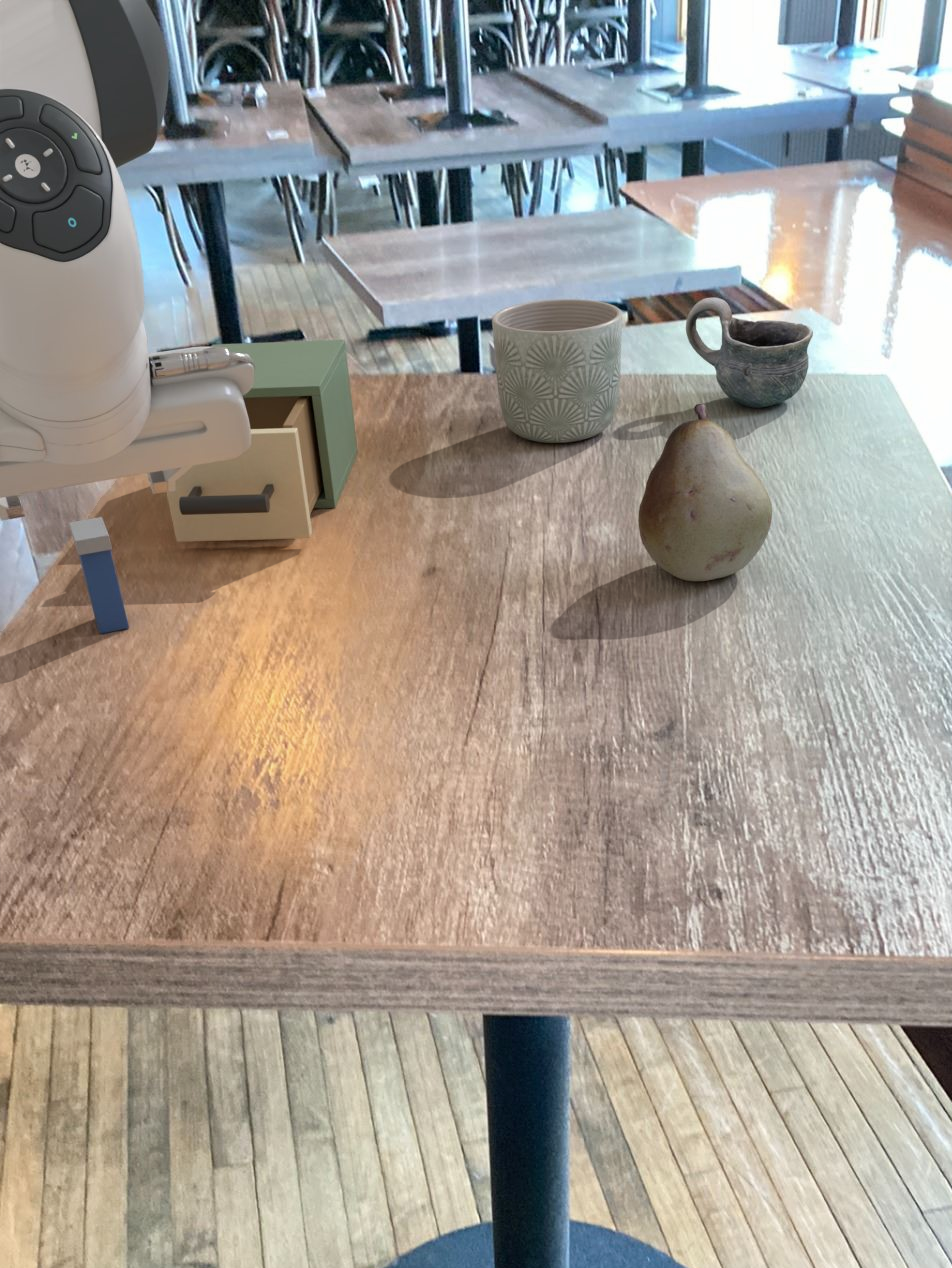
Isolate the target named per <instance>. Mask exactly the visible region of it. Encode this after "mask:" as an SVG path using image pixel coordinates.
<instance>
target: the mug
mask: <svg viewBox="0 0 952 1268" xmlns="http://www.w3.org/2000/svg"><path fill="white" fill-rule="evenodd" d="M707 311H708V312H709V311H710V312H713V313H715V314H717V315H718V317H719V322H720V325H721V345H720V348H719V349H712V348H710V347H709V346H708V345H707V344H706V343H705V342H704V341H703V339H702V338H701V336H700V334H699V332H698V330H697V320H698V318H699V317H700V315H701V314H702V313H704V312H707ZM685 333H686V337H687V340H688V342H689V344H690V346H691V347H692V349H693V350H694V351H695V353H697V355H698V356H700V357H701V359H703V360H704V361H706V362H707V364H709V365H711V366H712V367H714V370H715V379H716V383H717V384H718V385H719V387H720V389H721V391H722V392H723V394H725V396H726V397H728V399H731V400H733V401H734V402H736V403H738V404H739V405H742V406H744V407H745V406H746V407H749V408H766V407H770V406H774V405H779V404H781V403H784V402H786V401H787V400H790V399H792V397H794V396H795V395H796V394H797V393H798V392H799V391H800V389H801V388H802V386H803V384H804V382H805V381H806V377H807V374H808V370H809V362H810V361H809V354H808V348H809V345H810V343H811V340H812V338H813V336H814V331H813V329H812V328H811V327H810V326H809V325H806V324H804V323H795V322H791V321H787V320H773V319H772V320H769V319H768V320H766V319H765V320H756V321H753V320H748V319H743V318H737V317H733V313H732V309H731V306H730V305H729V303H728V302H727V301H726V300H724V299H722V298H719V297H705V298H703V299H701V300H699V301H698V302H696V304H694V306H693V307H691V309H690V311H689V312H688V315H687V317H686V322H685Z"/></svg>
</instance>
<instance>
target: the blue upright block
mask: <svg viewBox="0 0 952 1268" xmlns="http://www.w3.org/2000/svg"><path fill="white" fill-rule="evenodd" d="M68 525H69V528H70V529H69V530H70V532H71V537H72V539H73V543H74V545H75V548H76V552H77V555H78V558H79V561H80V565H81V566H80V567H81V570H82V574H83V576H84V581H85V585H86V590H87V592H88V597H89V601H90V604H91V609H92V613H93V616H94V620H95V623H96V627H97V629H98V632H99V634H100V635H102V634H107V633H108V634H109V633H113V632H117V631H123V630H126V629H127V630H128V629H129V628H130V625H129V621H128V617H127V613H126V609H125V605H124V604H125V603H124V601H123V596H122V591H121V588H120V583H119V580H118V575H117V572H116V571H117V570H116V567H115V562H114V558H113V555H112V550H113V547H112V543H111V539H110V535H109V533H108V529H107V527H106V524H105V522H104V520H103V517H102V516H99V517H93V518H87V519H82V520H75V521H71V522H69V523H68Z"/></svg>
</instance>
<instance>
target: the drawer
mask: <svg viewBox="0 0 952 1268" xmlns="http://www.w3.org/2000/svg"><path fill="white" fill-rule="evenodd" d="M243 400H244V403H245V407H246V411H247V414H248V418H249V423H250V429H251V446H250V448H249V449H248V450H246V451H245V452H244V453H243V454H242V455H240V456H239V457H237V458H234V459H229V460H223V461H216V462H211V463H205V464H199V465H193V467H191V468H190V469H189V470H188V471H187V472H186V473H184V474H183V475H182V476H181V477H180V478H179V479H177V480H175V483H176V490H175V491H171V492H165V493H166V498H167V502H168V507H169V512H170V517H171V521H172V527H173V531H174V536H175V541H176V543H181V542H182V543H186V542H218V541H219V542H221V541H225V542H226V541H257V540H262V541H263V540H294V539H296V540H297V539H299V540H300V539H310V538H311V537H312V534H313V527H312V522H311V521H312V520H311V514H312V512H313V509H314V508H313V507H314V505H315V503H316V501H317V498H318V496H319V494H320V492H321V489H322V487H323V485H324V484H323V477H322V469H321V462H320V454H319V447H318V439H317V432H316V424H315V417H314V409H313V402H312V396H289V397H260V398H243Z"/></svg>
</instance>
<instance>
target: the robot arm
mask: <svg viewBox="0 0 952 1268" xmlns="http://www.w3.org/2000/svg"><path fill="white" fill-rule="evenodd" d="M169 79H170V59H169V52H168V48H167V43H166V41H165V37H164V35H163V32H162V30H161V27H160V25H159V23H158V21H157V18H156V17H155V15H154V13H153V10H152V8H151V7H150V5H149V4H148V3H147V1H146V0H0V521H1V522H4V521H7V520H13V519H18V518H24V517H26V515H25V514H26V513H25V511H24V508H23V503H22V499H21V495H25V494H26V495H27V494H32V493H37V492H43V491H44V492H45V491H50V490H56V489H62V488H68V487H74V486H80V485H85V484H86V485H87V484H92V483H98V482H102V481H104V482H105V481H109V480H110V481H111V480H114V479H115V480H116V479H121V478H122V479H123V478H127V477H133V476H138V475H144V474H146V475H147V479H148V482H150V489H151V492H152V495H157V494H163V493H166V492H171V491H175V490H176V483H175V480H177V479H179V478H180V477H181V476H182V475H183V474H184V473H186V472H187V471H188V470H189V469H190V468H191V467H193V465H199V464H205V463H211V462H216V461H223V460H229V459H234V458H237V457H239V456H240V455H242V454H243V453H244V452H245V451H246V450H248V449H249V448H250V446H251V429H250V423H249V418H248V414H247V411H246V407H245V403H244V400H243V395H245V394H246V393H248V392H249V391H250V390H251V388H252V386H253V383H254V370H255V366H254V362H253V361H252V359H251V358H250V356H249V355H248V354H241V353H236V352H229V351H228V349H227V348H226V347H211V346H192V347H185V348H184V347H183V348H178V349H173V350H171V349H170V350H164V351H157V352H151V353H149V344H148V334H147V330H146V326H145V322H144V320H143V314H144V310H145V309H144V308H145V283H144V272H143V263H142V255H141V250H140V243H139V238H138V237H139V236H138V233H137V227H136V223H135V219H134V216H133V211H132V208H131V205H130V202H129V201H130V200H129V198H128V195H127V192H126V190H125V186H124V183H123V181H122V178H121V176H120V173H119V171H118V169H117V168H120V167H122V166H124V165H125V164H128V163H130V162H132V161H133V160H136V159H138V158H140V157H142V156H144V155H146V154H148V153H149V152H151V151H152V150H153V148H154V146H155V144H156V142H157V139H158V137H159V134H160V130H161V128H162V124H163V120H164V116H165V110H166V107H167V101H168V93H169Z"/></svg>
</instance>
